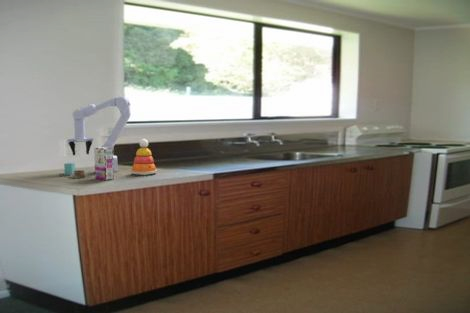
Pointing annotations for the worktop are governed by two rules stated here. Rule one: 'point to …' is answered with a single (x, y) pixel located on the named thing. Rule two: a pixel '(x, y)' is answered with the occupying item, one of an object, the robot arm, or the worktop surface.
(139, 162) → the stacking toy
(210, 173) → the worktop surface
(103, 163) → the candy bar box
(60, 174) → the coaster
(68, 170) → the block
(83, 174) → the channel
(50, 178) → the worktop surface
